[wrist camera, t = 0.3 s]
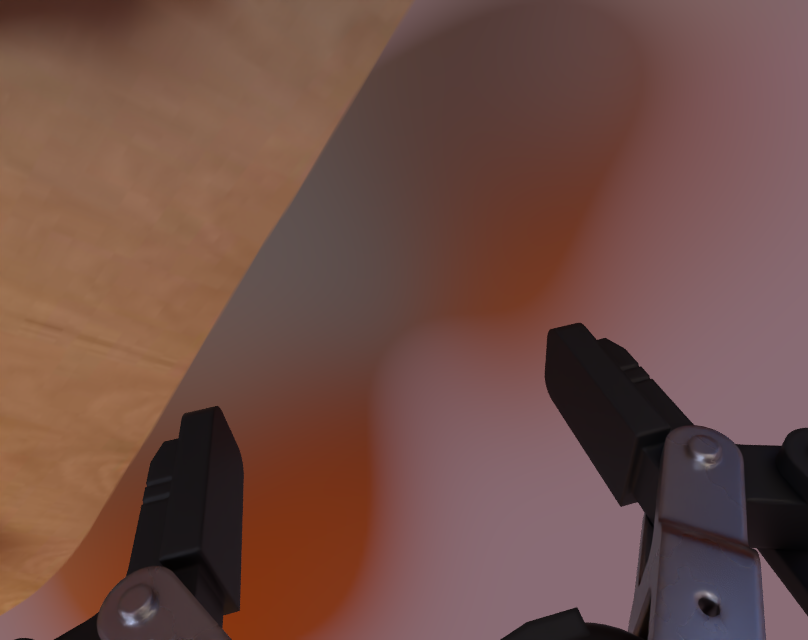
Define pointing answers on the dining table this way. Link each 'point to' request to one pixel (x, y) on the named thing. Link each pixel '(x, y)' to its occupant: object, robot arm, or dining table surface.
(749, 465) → the robot arm
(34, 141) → the dining table surface
